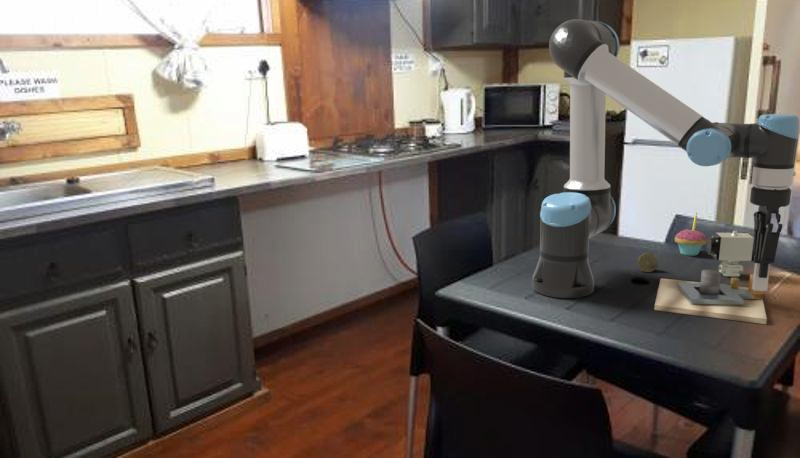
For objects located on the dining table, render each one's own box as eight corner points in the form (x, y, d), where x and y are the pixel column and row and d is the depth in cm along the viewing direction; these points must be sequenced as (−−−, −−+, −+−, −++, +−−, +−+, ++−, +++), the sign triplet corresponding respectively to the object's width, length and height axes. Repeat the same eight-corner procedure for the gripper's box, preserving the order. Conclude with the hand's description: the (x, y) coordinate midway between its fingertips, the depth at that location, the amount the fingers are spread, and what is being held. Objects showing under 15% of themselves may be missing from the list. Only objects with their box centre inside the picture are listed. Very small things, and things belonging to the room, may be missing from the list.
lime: (659, 271, 166) (661, 254, 165) (645, 274, 164) (646, 256, 163) (647, 267, 170) (649, 249, 169) (633, 269, 168) (634, 252, 167)
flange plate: (691, 303, 139) (693, 282, 138) (677, 287, 150) (678, 267, 149) (770, 305, 137) (772, 284, 136) (750, 288, 148) (752, 269, 146)
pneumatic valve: (757, 279, 158) (763, 233, 155) (708, 277, 161) (712, 232, 158) (750, 272, 164) (755, 228, 161) (702, 270, 166) (707, 227, 163)
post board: (654, 309, 140) (656, 279, 138) (660, 282, 158) (662, 255, 156) (766, 324, 131) (770, 292, 129) (759, 293, 148) (763, 265, 146)
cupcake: (682, 247, 187) (685, 209, 184) (711, 253, 181) (714, 213, 178) (668, 253, 182) (671, 213, 179) (696, 259, 175) (700, 218, 172)
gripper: (800, 192, 127) (786, 300, 133) (782, 182, 139) (770, 282, 145) (759, 191, 129) (747, 298, 135) (745, 181, 141) (734, 280, 147)
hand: (759, 289), depth 140 cm, fingers closed
